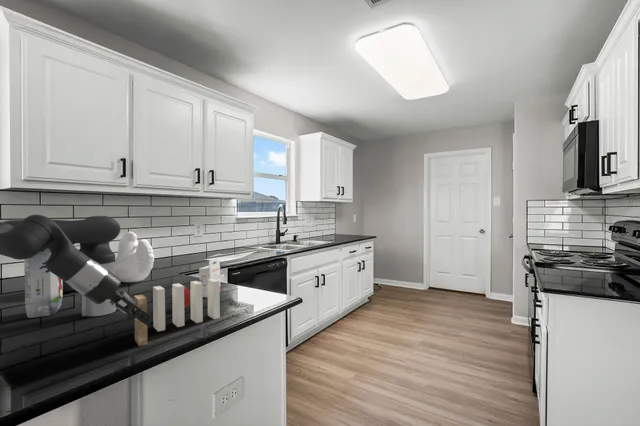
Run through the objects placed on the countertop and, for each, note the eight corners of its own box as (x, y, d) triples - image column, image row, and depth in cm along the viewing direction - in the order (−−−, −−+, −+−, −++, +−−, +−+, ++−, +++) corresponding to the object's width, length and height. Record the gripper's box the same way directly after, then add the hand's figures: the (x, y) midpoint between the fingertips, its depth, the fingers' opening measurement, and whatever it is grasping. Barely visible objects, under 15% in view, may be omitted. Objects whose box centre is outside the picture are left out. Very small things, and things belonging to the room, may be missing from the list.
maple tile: (138, 346, 86) (138, 299, 86) (134, 340, 90) (134, 295, 90) (147, 344, 87) (146, 298, 87) (143, 338, 91) (142, 294, 91)
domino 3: (196, 323, 103) (195, 284, 103) (190, 319, 107) (190, 281, 107) (202, 321, 104) (202, 283, 104) (197, 317, 108) (196, 280, 108)
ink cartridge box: (210, 292, 142) (209, 257, 142) (220, 292, 141) (220, 258, 141) (198, 297, 134) (198, 260, 134) (210, 297, 133) (209, 261, 133)
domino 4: (213, 319, 106) (213, 281, 106) (207, 315, 110) (207, 279, 110) (219, 318, 108) (219, 280, 108) (213, 314, 112) (213, 278, 112)
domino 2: (177, 327, 100) (177, 287, 99) (172, 322, 104) (172, 284, 103) (184, 325, 101) (184, 286, 101) (179, 321, 105) (178, 283, 105)
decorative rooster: (107, 281, 166) (106, 231, 166) (141, 276, 178) (140, 230, 178) (126, 288, 150) (125, 233, 150) (161, 282, 162) (161, 231, 162)
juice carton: (23, 320, 108) (21, 236, 107) (32, 311, 117) (31, 234, 117) (57, 315, 112) (56, 235, 112) (64, 307, 121) (63, 233, 121)
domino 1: (157, 331, 96) (157, 290, 96) (153, 326, 100) (152, 286, 100) (165, 329, 97) (164, 288, 97) (160, 325, 101) (160, 285, 101)
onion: (178, 306, 121) (178, 284, 121) (194, 305, 122) (194, 284, 122) (173, 311, 116) (172, 288, 115) (190, 310, 116) (189, 287, 116)
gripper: (78, 288, 86) (131, 323, 93) (83, 299, 75) (142, 338, 82) (103, 265, 89) (151, 301, 96) (110, 273, 78) (164, 312, 85)
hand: (147, 318), depth 89 cm, fingers open, 7 cm apart
